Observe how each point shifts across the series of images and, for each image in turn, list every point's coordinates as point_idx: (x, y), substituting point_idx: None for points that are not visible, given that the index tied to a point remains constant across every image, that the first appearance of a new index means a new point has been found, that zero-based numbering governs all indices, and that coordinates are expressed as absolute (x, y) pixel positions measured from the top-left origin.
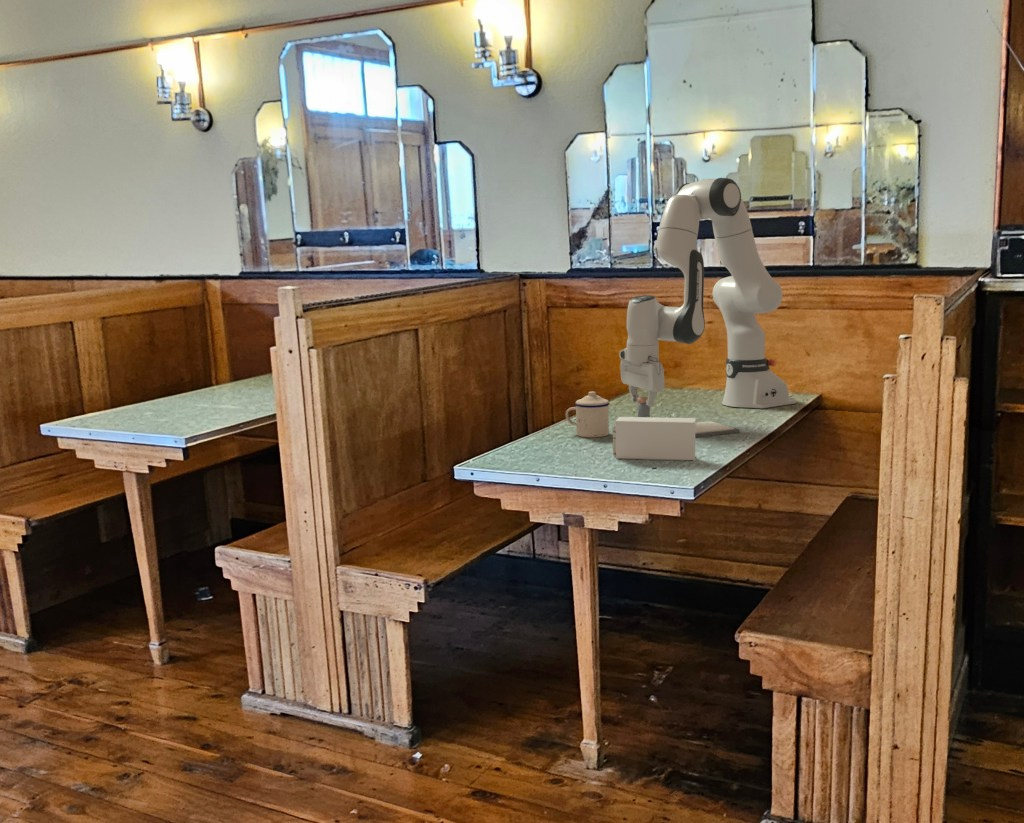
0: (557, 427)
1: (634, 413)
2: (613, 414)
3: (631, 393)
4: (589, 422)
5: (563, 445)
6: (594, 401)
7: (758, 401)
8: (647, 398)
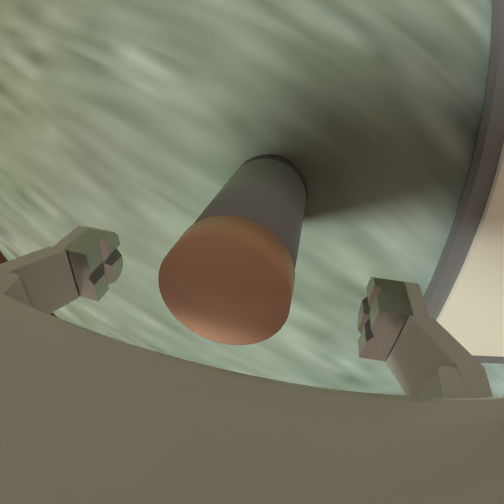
0: None
1: (10, 92)
2: (9, 179)
3: (64, 303)
4: None
5: None
6: None
7: None
8: (282, 298)
